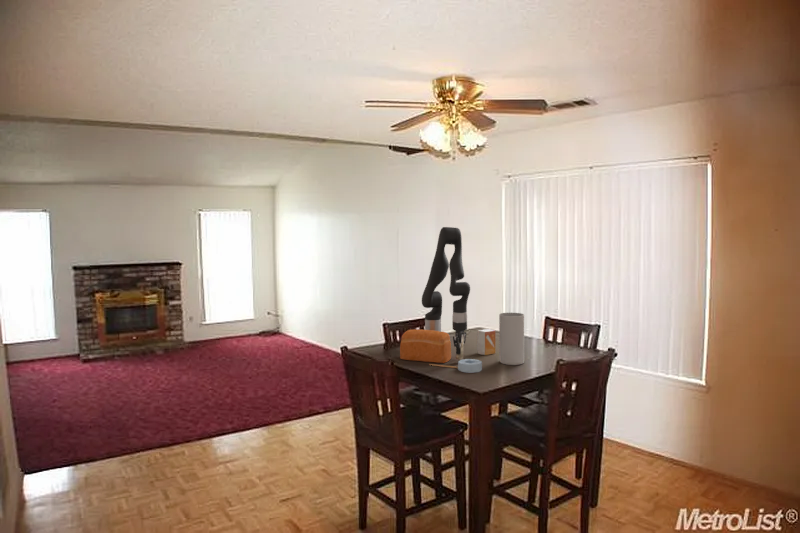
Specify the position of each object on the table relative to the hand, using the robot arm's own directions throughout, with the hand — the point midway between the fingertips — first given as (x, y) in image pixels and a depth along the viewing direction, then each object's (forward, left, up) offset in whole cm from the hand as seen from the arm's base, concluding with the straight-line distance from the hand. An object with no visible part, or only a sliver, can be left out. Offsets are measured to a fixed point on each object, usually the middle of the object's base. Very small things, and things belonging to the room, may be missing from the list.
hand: (459, 353), depth 284 cm
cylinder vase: (+24, +11, -5) cm, 27 cm away
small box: (+6, +25, -5) cm, 26 cm away
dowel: (0, 0, -3) cm, 3 cm away
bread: (-20, 0, -5) cm, 20 cm away
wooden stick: (-4, -11, -5) cm, 13 cm away
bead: (+9, -11, -5) cm, 15 cm away
